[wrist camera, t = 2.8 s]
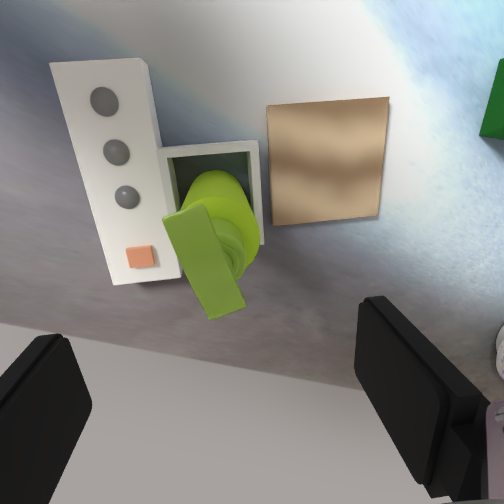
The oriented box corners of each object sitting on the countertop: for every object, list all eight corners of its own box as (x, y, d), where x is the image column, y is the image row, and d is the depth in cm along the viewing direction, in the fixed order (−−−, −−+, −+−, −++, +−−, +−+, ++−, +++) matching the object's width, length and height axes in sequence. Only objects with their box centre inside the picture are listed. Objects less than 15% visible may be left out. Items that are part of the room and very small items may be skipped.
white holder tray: (66, 69, 26) (44, 61, 23) (248, 58, 27) (253, 49, 24) (121, 272, 34) (111, 288, 30) (261, 257, 35) (265, 270, 32)
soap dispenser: (228, 151, 30) (249, 187, 12) (251, 213, 33) (295, 320, 14) (175, 171, 30) (112, 239, 12) (201, 231, 33) (184, 360, 15)
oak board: (266, 106, 29) (268, 105, 28) (384, 97, 30) (389, 96, 29) (271, 223, 34) (273, 226, 33) (373, 213, 34) (377, 215, 34)
